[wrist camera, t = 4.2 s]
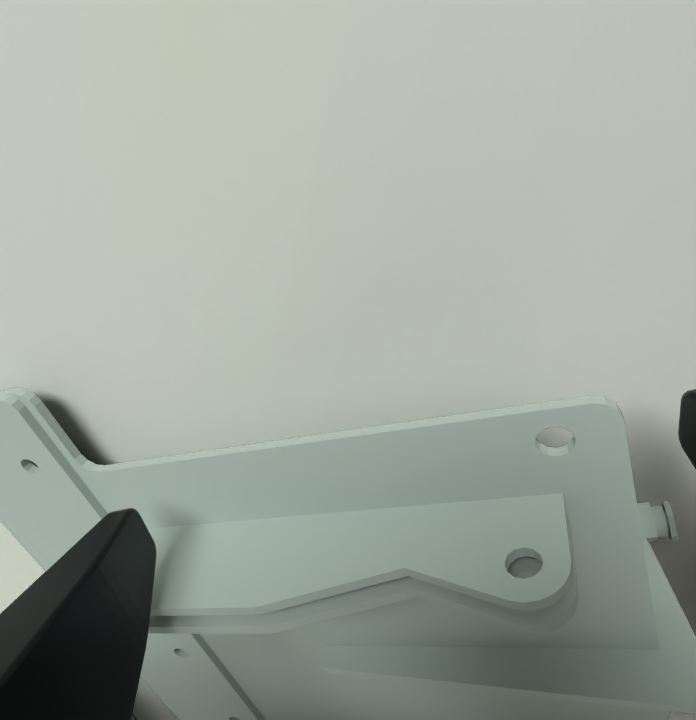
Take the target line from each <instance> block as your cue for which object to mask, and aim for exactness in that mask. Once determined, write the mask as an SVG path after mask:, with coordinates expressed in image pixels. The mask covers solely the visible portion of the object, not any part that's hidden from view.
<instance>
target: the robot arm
mask: <svg viewBox="0 0 696 720" xmlns="http://www.w3.org/2000/svg"><path fill="white" fill-rule="evenodd" d="M678 435H679V440H680V443H681V446H682V448H683V450H684V451H685V453H686V455H687V456H688V458H689V459H690V461H691V463H692V464H693V466H694V467H695V469H696V389H694V390H690V391H687V392H685V393H684V394H683V396H682V398H681V406H680V419H679V431H678ZM156 556H157V553H156V545H155V542H154V540H153V538H152V536H151V534H150V532H149V530H148V529H147V527H146V525H145V523H144V521H143V519H142V517H141V515H140V514H139V512H138V511H137V510H136V509H134V508H127V509H122V510H117V511H113V512H110V513H108V514H107V515H106V516H105V517H104V518H103V519H101V520H100V521H99V522H98V523H97V524H96V525H95V526H94V527H93V528H92V529H91V530H90V531H89V532H88V533H86V534H85V535H84V536H83V537H82V538H81V539H80V540H79V541H78V542H77V543H76V544H75V545H74V546H73V547H71V548H70V549H69V550H68V551H67V552H66V553H65V554H64V555H63V556H62V557H61V558H60V559H59V560H58V561H56V562H55V563H54V564H53V565H52V566H51V567H50V568H49V569H48V570H47V571H46V572H45V573H44V574H43V575H41V576H40V577H39V578H38V579H37V580H36V581H35V582H34V583H33V584H32V585H31V586H30V587H29V588H28V589H26V590H25V591H24V592H23V593H22V594H21V595H20V596H19V597H18V598H17V599H16V600H15V601H14V602H13V603H11V604H10V605H9V606H8V607H7V608H6V609H5V610H4V611H3V612H2V613H1V614H0V720H131V716H132V712H133V707H134V702H135V698H136V693H137V689H138V684H139V679H140V675H141V670H142V665H143V661H144V656H145V651H146V645H147V639H148V631H149V623H150V613H151V604H152V594H153V585H154V576H155V566H156Z"/></svg>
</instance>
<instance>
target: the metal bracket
mask: <svg viewBox="0 0 696 720" xmlns="http://www.w3.org/2000/svg"><path fill="white" fill-rule="evenodd" d="M550 427H563V428H565V429H567V430H569V431H570V432H572V434H573V435H574V437H573V439H572V440H571V441H570V442H569V443H568V444H567V445H564V446H561V447H558V448H555V447H546V446H545V445H543V444H541V443H539V442H538V440H537V439H536V436H537V435H538V434H539V433H540V432H541V431H542V430H544V429H547V428H550ZM127 508H134V509H136V510H137V511H138V512H139V514H140V515H141V517H142V519H143V521H144V523H145V525H146V527H147V529H148V530H149V532H150V534H151V536H152V538H153V540H154V542H155V545H156V553H157V556H156V566H155V576H154V585H153V594H152V604H151V613H150V623H149V631H148V639H147V645H146V651H145V656H144V661H143V665H142V670H141V675H140V677H141V678H142V680H143V681H144V682H145V683H146V684H147V685H148V686H149V687H150V689H151V690H152V691H153V692H154V693H155V694H156V695H157V696H158V697H159V699H160V700H161V701H162V702H163V703H164V704H165V705H166V706H167V708H168V709H169V710H170V711H171V712H172V713H173V714H174V715H175V716H176V718H177V719H178V720H670V715H669V712H677V713H686V714H695V715H696V636H695V634H694V632H693V630H692V628H691V626H690V624H689V622H688V620H687V618H686V616H685V614H684V612H683V610H682V608H681V606H680V604H679V602H678V600H677V598H676V596H675V594H674V592H673V590H672V588H671V586H670V584H669V582H668V580H667V578H666V576H665V574H664V572H663V570H662V568H661V566H660V564H659V562H658V560H657V558H656V556H655V553H654V551H653V549H652V547H651V545H650V543H649V541H657V540H658V538H659V537H668V534H669V537H670V540H677V538H678V534H677V529H676V524H675V518H674V514H673V511H672V508H671V505H670V502H669V501H663V503H662V506H661V505H655V506H651V505H650V502H646V503H637V500H636V494H635V487H634V481H633V474H632V468H631V461H630V455H629V448H628V442H627V435H626V429H625V422H624V418H623V415H622V412H621V410H620V408H619V407H618V405H617V403H616V402H614V401H612V400H610V399H609V398H607V397H605V396H590V395H589V396H582V397H575V398H568V399H561V400H554V401H547V402H540V403H533V404H526V405H519V406H512V407H505V408H499V409H492V410H485V411H478V412H471V413H464V414H457V415H450V416H443V417H436V418H429V419H422V420H415V421H408V422H401V423H394V424H388V425H381V426H374V427H367V428H360V429H353V430H346V431H339V432H332V433H325V434H318V435H311V436H304V437H297V438H290V439H283V440H277V441H270V442H263V443H256V444H249V445H242V446H235V447H228V448H221V449H214V450H207V451H200V452H193V453H186V454H179V455H173V456H166V457H159V458H152V459H145V460H138V461H131V462H124V463H117V464H110V465H98V464H95V463H93V462H91V461H89V460H87V459H86V458H85V457H84V456H83V455H82V454H81V453H80V452H79V450H78V449H77V448H76V446H75V445H74V444H73V442H72V441H71V440H70V438H69V437H68V436H67V434H66V433H65V432H64V430H63V429H62V428H61V426H60V425H59V424H58V422H57V421H56V420H55V418H54V417H53V416H52V414H51V413H50V412H49V410H48V409H47V408H46V406H45V405H44V403H43V402H42V401H41V400H40V399H39V398H38V397H37V396H36V395H35V394H34V393H32V392H31V391H29V390H27V389H24V388H11V389H7V390H3V391H0V521H1V522H2V523H3V525H4V526H5V527H6V528H7V529H8V530H9V531H10V532H11V533H12V535H13V536H14V537H15V538H16V539H17V540H18V541H19V542H20V543H21V545H22V546H23V547H24V548H25V549H26V550H27V551H28V552H29V554H30V555H31V556H32V557H33V558H34V559H35V560H36V561H37V562H38V564H39V565H40V566H41V567H42V568H43V569H44V570H45V571H47V570H48V569H49V568H50V567H51V566H52V565H53V564H54V563H55V562H56V561H58V560H59V559H60V558H61V557H62V556H63V555H64V554H65V553H66V552H67V551H68V550H69V549H70V548H71V547H73V546H74V545H75V544H76V543H77V542H78V541H79V540H80V539H81V538H82V537H83V536H84V535H85V534H86V533H88V532H89V531H90V530H91V529H92V528H93V527H94V526H95V525H96V524H97V523H98V522H99V521H100V520H101V519H103V518H104V517H105V516H106V515H107V514H108V513H110V512H113V511H117V510H122V509H127Z"/></svg>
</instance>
